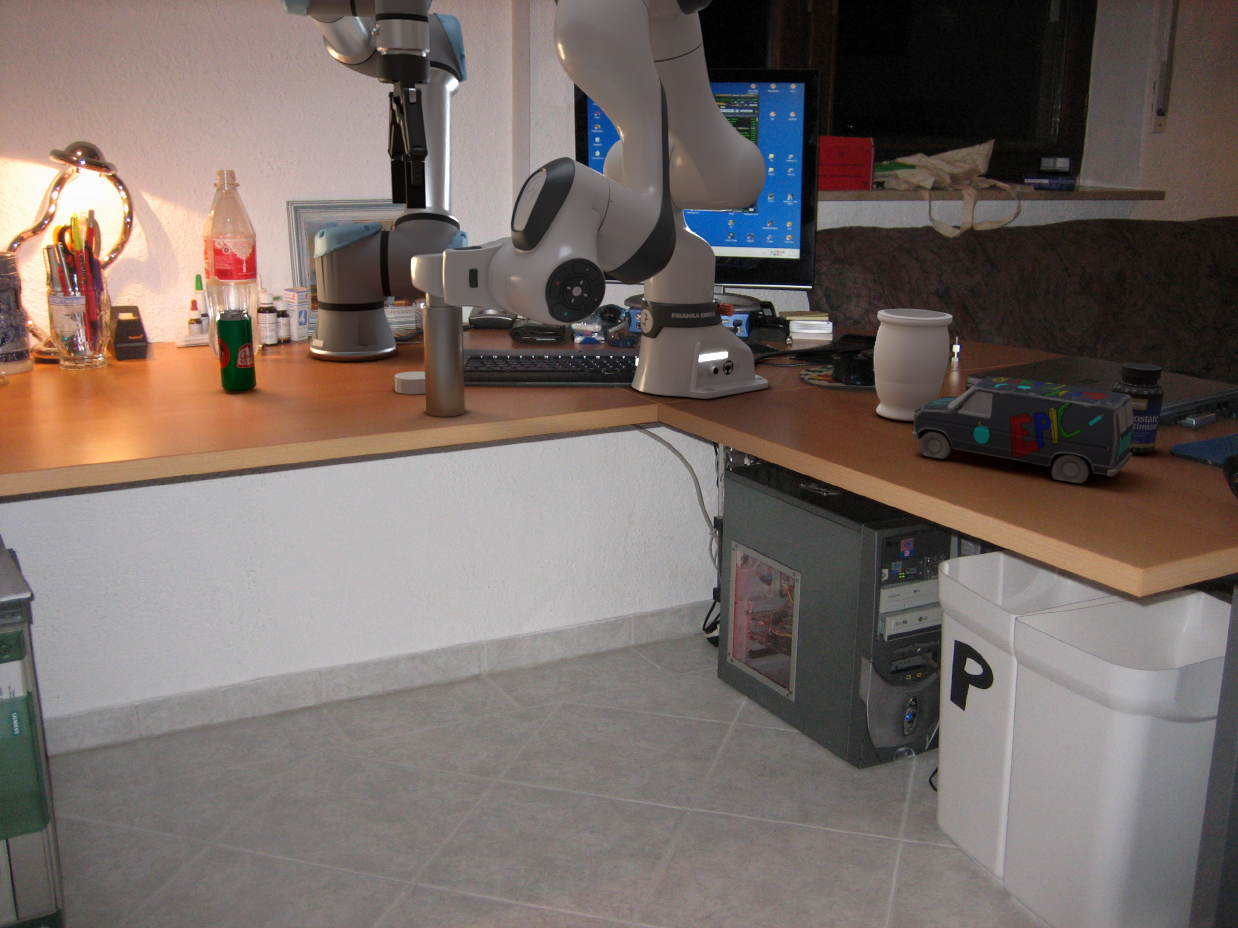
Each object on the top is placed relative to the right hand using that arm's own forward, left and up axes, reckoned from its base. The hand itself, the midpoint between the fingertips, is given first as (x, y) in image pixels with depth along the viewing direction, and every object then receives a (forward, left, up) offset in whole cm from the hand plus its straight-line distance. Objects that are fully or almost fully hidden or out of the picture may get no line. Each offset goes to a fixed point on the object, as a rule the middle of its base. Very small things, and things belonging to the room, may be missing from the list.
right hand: (471, 264), depth 138 cm
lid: (-1, -27, -20) cm, 34 cm away
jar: (-59, +20, -22) cm, 66 cm away
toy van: (-55, +44, -22) cm, 74 cm away
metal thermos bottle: (0, -11, -22) cm, 25 cm away
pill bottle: (-73, +46, -22) cm, 90 cm away
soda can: (+24, -38, -22) cm, 50 cm away
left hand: (-1, -27, +6) cm, 28 cm away
